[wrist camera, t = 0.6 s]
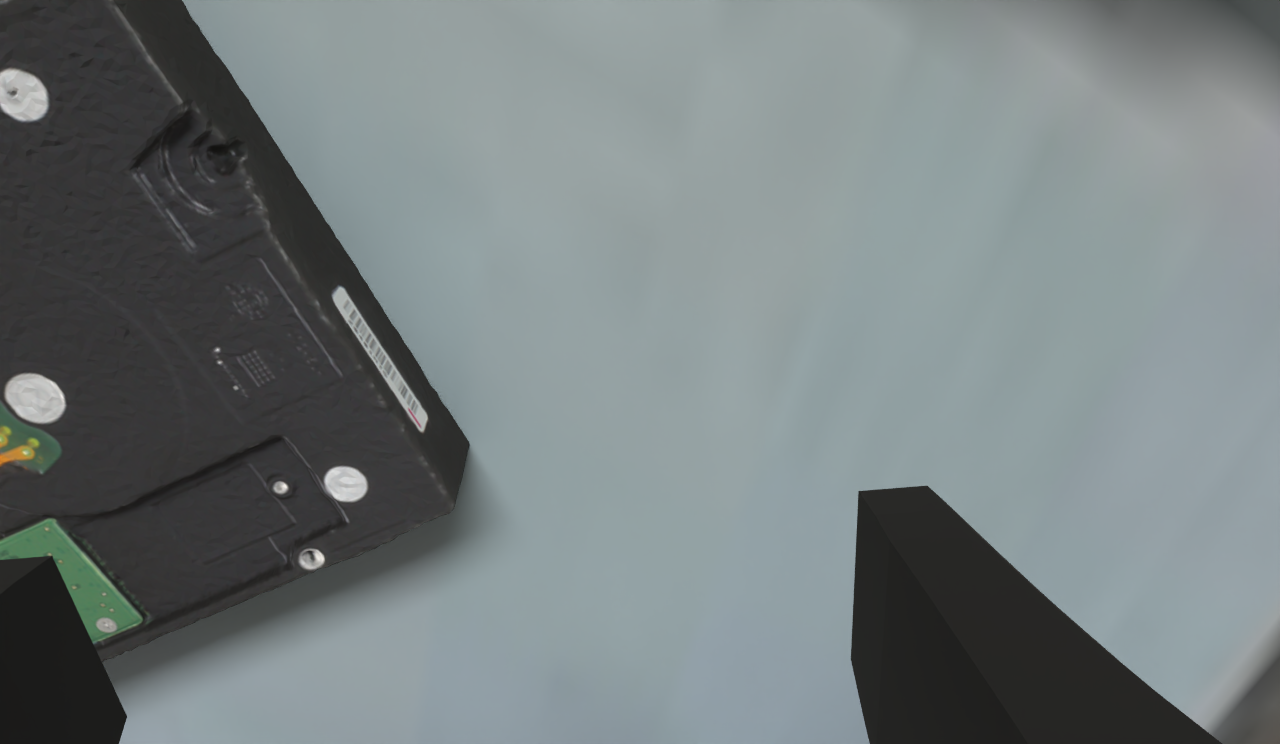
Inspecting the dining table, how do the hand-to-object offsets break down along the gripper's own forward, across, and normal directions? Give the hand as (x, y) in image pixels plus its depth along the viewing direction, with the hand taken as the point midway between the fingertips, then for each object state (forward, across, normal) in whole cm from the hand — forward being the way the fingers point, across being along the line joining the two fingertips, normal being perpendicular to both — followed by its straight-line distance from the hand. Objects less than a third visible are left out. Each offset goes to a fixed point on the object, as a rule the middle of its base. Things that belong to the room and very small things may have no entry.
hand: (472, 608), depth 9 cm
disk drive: (+10, +10, +2) cm, 15 cm away
